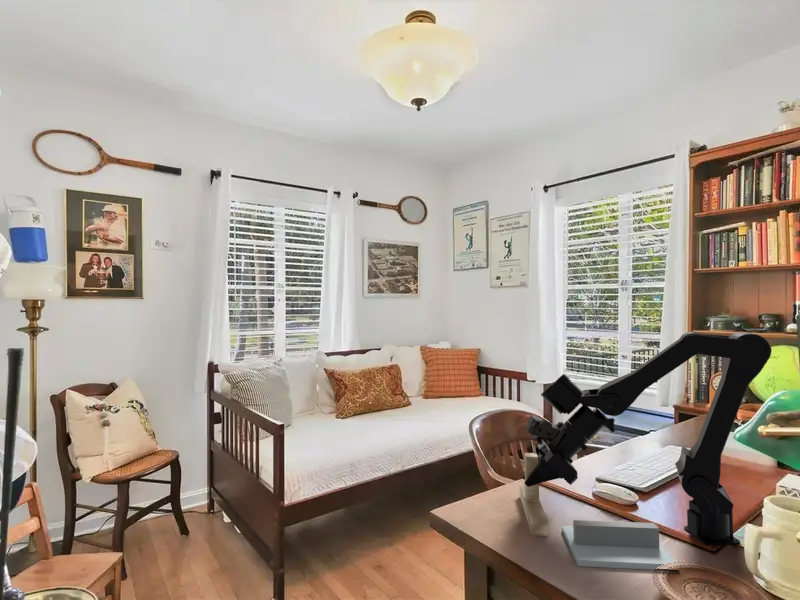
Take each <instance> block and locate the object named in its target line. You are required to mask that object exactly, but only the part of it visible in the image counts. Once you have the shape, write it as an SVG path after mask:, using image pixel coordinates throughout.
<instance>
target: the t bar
mask: <svg viewBox="0 0 800 600" xmlns="http://www.w3.org/2000/svg"><path fill="white" fill-rule="evenodd" d="M523 455H524V456H523V457H524V458H523V459H524V463H523V464H524V473H525V480H524V482H525V481H526V479H527V478H528V476H529V475H530V474H531V472H532V471H533V470H534V468H535V467H536V466H537V465H538V456H537V454H536V453H535V452H523ZM518 485H519V486H518V487H519V488H518V489H519V498H520V502H521V505H522V509H523V511H524V513H525V514H524V515H525V518H526V520H527V524H528V526H529V530H530V533H531V536H539V537H540V536H544V537H545V536H546V537H548V536H549V520H548V517H547V515H546V513H545V510H544V507H543V506H542V503H541V500H540V483H539V484H536V485H533V486H530V487H527V486H526V485H525V483H519V484H518Z"/></svg>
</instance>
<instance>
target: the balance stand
mask: <svg viewBox="0 0 800 600" xmlns="http://www.w3.org/2000/svg"><path fill="white" fill-rule="evenodd" d="M572 523H573V524H572V525H573V526H571V525H570V526H568V525H567V526H566V525H562V526H561V531H562V534H563V536H564V538H565V541H566V543H567V544H568V547H569V549H570V551H571V554H572V556H573V558H574V561H575V563H576V565H577V567H586V568H587V567H589V568H610V569H611V568H612V569H629V570H633V569H634V570H650V571H651V570H652V571H653V570H654V569H656V568H657V567H659V566H661V565H663V564H667V563H673V562H677V560H676V559H675V558H674V556H672V554H671V553H670V552H669V551H668V549H666V547H665V545H663V544H662V543H661V541H660V528H659V526H658V525H657V524H655V523H654V522H638V521H637V522H635V521H607V520H605V521H603V520H581V519H580V520H578V519H577V520H576V519H572Z"/></svg>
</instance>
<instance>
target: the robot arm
mask: <svg viewBox="0 0 800 600" xmlns="http://www.w3.org/2000/svg"><path fill="white" fill-rule="evenodd" d="M772 351H773V350H772V346H771V344H770V343H769V342H768V340H767V339H766V338H765V337H763V336H761V335H758V334H755V333H751V332H746V331H738V332H735V333H732V334H731V335H722V334H720V335H719V334H708V333H705V334H704V333H697V332H693V331H689V332H685V333H683V334H682V335H681V336H680V338H678V339H677V340H676V341H674V342H673V343H671V344H670V345H668V346H667V347H666V348H664V349H663V350H662V351H659V352H658V353H656V354H655V355H654V356H653V357H651V358H650V359H648V360H647V361H646V362H644V363H642V364H641V365H640V366H639V367H637V368H636V369H634V370H633V371H631V372H629V373H627V374H624V375H622V376H618V377H617V378H615V379H612V380H610V381H608V382H606V383H603V384H602V385H601V386H600V387H598V388H591V389H583V390H581V389H580V388H579V386H578V385H577V384H575V383H574V382H573V381H572V380H571V379H570V378H569V376H568V375H567V374H565V373H562V375H561V376H559V377H558V378H557V379H556V380H555V381H553V382H551V383H550V384H549V386H548V387H547V388H546V389H544V391H542V392H541V394H540V396H541V397H542V398H543V399H544V400H545V401H546V402H548V404H549V405H550V406H552V407H553V408H554V409H555V410H556V411H557V412H558V413H559V414H560V415H562V414H564V415H570V414H571V413H572V412H573V411H574V410H576V409H577V407H579V405H580V407H579V408H578V409H577V410H576V411H575V412H573V414H572V415H571V416H570V417H569V418H568V419H567V420H566V421H565V422H563V421H559V422H557V423H556V424H553V423H552V422H551V421H547V420H546V418H540V417H538V416H537V415H534V414H530V416H529V419H528V421H527V423H526V426H525V429H526V431H527V433H529V434H530V435H531V437H532V438H533V440H534V441H537V443H538V445H537V444H536V442H535V443H533V447H534V449H533V450H534V453H536V454H537V456H538V465H537V466H536V467H535V468H534V470H533V471H532V472H531V474H530V475H529V476H528V478H527V479H526V481H525V472H524V473H523V475H522V480H524V484H525V485H526V486H527V487H530V486H533V485H536V484H539V485H540V484H542V483H546V482H550V481H554V480H557V479H558V480H559V479H563V480H564V481H566V483H568V485H570V486H571V485H573V483H575V482H577V480H578V470H577V469H576V467H574V465H573V464H572V463H574V460H573V458H574V456H575V455H576V454H578V452H580V450H583V451H586V450H587V449H588V446H587V444H588V443H589V442H590V441H591V440H592V439H593V438H594V437H595V436H596V435H597V434H598V433H599V432H600V431H601V430H602V429H603V428H604V427H605V428H606V429H607V430H608V431H610V432H611V433H615V431H616V428H615V420H616V419H615V418H614V417H617V416H620V415H622V414H623V413H625V412H626V410H627V409H629V407H630V406H632V405H633V403H634V402H636V400H637V399H638V397H639V396H640V395H642V393H643V392H644V391H645V390H647V389H648V388H649V387H651V386H652V385H654V384H655V383H656V382H658V381H659V380H661V379H662V378H663V377H665V376H667V375H668V374H670V373H671V372H673V371H674V370H675V369H677V368H678V367H680V366H681V365H683V364H684V363H685V362H687V361H689V360H690V359H691V358H693V357H695V356H696V355H704V356H711V357H718V358H721V359H722V361H721V376H720V379H719V382H718V384H717V388H716V390H715V392H714V395H713V398H712V401H711V403H710V405H709V409H708V412H707V414H706V417H705V419H704V422H703V425H702V427H701V430H700V433H699V435H698V438H697V440H696V442H695V443H694V445H692V447H691V448H690V449H688V448H686V447H684V446H682V447H681V451H680V456H679V458H678V460H677V461H676V462H675V463H674V465H675V467H676V470H677V475H678V479H679V482H680V484H681V487H682V489H683V491H684V492H685V493H686V495H688V496H689V497H690V498H692V499H691V500H688V508H687V510H686V514H687V515H686V518H687V522H686V523H687V525H684V526H683V529H684V530H685V531H686V532H688V533H689V534H690V535H691V536H693V537H694V538H695V539H697V540H698V541H700V542H701V543H702V544H705V545H706V546H726V545H741V540H739V539H738V538H737V537H735V536H734V516H733V513H734V512H733V508H734V503H733V501H732V500H731V498H730V496H729V494H728V492H727V490H726V488H725V487H724V485H723V484H721V483H720V480H721V479H720V478H721V470H722V469H721V468H722V467H721V462H722V454H723V451H724V449H725V446H726V444H727V441H728V439H729V437H730V434H731V431H732V428H733V426H734V423H735V420H736V418H737V415H738V413H739V410H740V407H741V404H742V402H743V400H744V397H745V394H746V393H747V390H748V387H749V385H751V383H752V382H753V380H754V379H756V378H757V376H758V375H759V374H760V373H761V372H762V370H763V369H764V367H765V366H766V364H767V363H768V361H769V359H770V358H771V356H772ZM590 407H591V408H590ZM592 408H593V409H592ZM608 416H610V417H608ZM611 416H612V417H611Z"/></svg>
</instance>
